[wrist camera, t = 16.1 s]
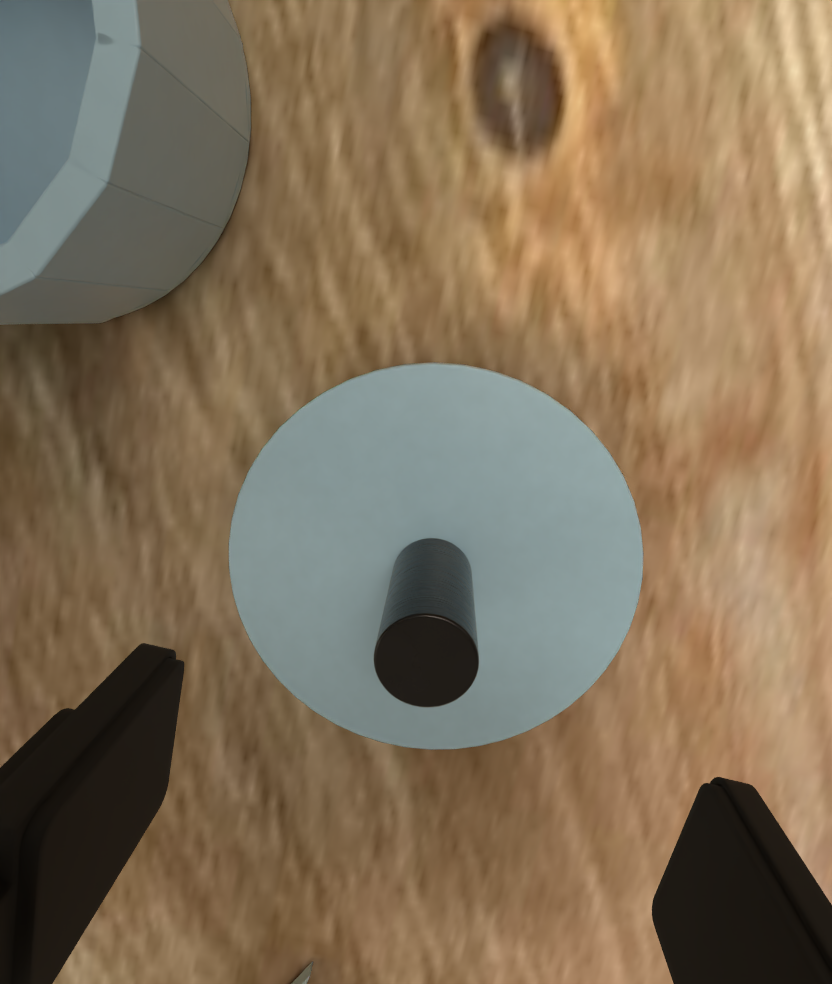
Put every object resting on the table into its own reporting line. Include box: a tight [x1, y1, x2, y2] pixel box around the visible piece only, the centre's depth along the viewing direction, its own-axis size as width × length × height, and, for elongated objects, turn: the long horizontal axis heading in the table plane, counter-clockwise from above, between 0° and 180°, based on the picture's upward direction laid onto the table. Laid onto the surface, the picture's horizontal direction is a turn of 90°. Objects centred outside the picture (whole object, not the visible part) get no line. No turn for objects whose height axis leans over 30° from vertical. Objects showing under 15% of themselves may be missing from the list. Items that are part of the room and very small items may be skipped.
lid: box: [229, 362, 643, 750], centre depth 17 cm, size 13×13×6 cm
